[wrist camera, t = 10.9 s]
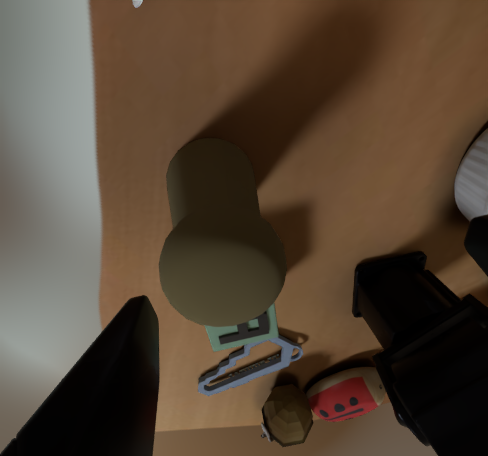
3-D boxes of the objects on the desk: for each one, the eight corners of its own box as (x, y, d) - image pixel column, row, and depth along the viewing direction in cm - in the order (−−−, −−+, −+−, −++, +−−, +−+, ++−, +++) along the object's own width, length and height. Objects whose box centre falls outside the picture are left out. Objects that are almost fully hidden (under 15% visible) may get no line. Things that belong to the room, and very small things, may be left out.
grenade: (294, 363, 33) (287, 399, 41) (249, 393, 31) (251, 425, 39) (331, 413, 29) (315, 442, 37) (283, 452, 27) (277, 474, 35)
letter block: (210, 303, 26) (213, 355, 21) (196, 259, 23) (197, 308, 19) (265, 290, 26) (279, 339, 22) (258, 245, 23) (273, 291, 19)
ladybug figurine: (386, 377, 36) (402, 408, 33) (314, 403, 38) (323, 435, 35) (371, 353, 32) (387, 386, 29) (292, 385, 35) (300, 418, 32)
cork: (227, 232, 22) (253, 362, 13) (151, 199, 20) (115, 328, 11) (271, 165, 20) (340, 263, 11) (190, 119, 18) (189, 193, 8)
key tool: (182, 365, 30) (206, 392, 32) (181, 372, 29) (205, 400, 31) (287, 319, 29) (304, 351, 31) (289, 326, 28) (307, 358, 30)
